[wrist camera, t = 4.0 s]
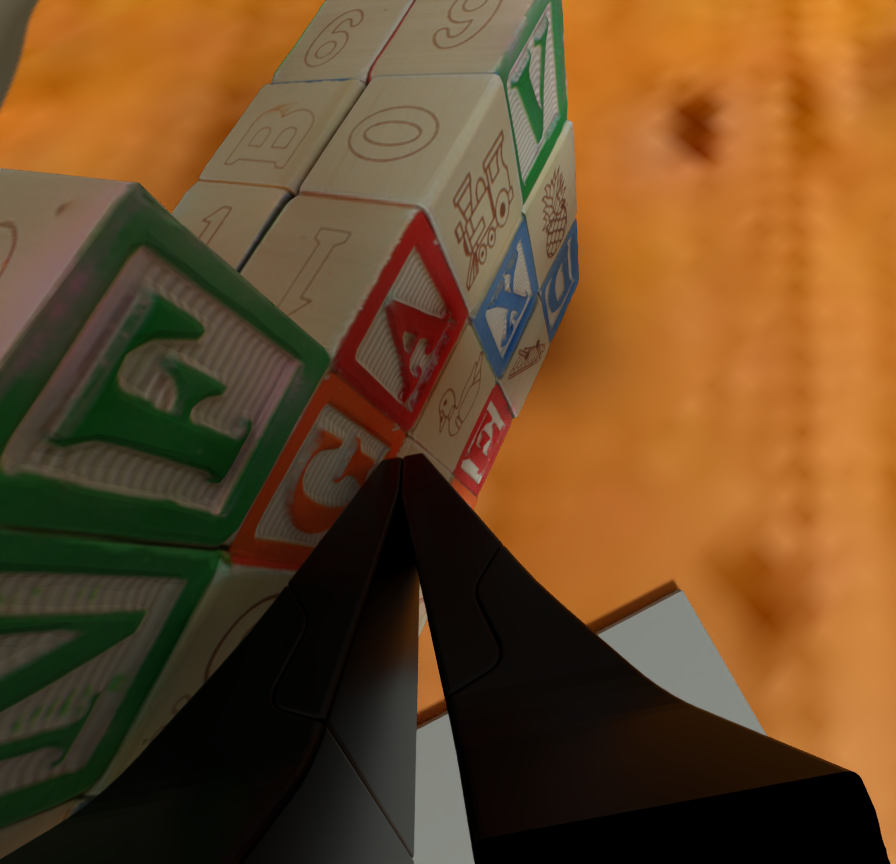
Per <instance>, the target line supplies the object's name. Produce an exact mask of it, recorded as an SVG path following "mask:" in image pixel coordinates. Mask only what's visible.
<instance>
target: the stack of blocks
mask: <svg viewBox="0 0 896 864" xmlns="http://www.w3.org/2000/svg"><path fill="white" fill-rule="evenodd" d="M576 213H577V201H576V172H575V155H574V133H573V124H572V122H571V121H570V120H567V83H566V71H565V59H564V30H563V11H562V0H326V1H325V2H324V4H323V5H322V6H321V8H320V9H319V11H318V13H317V14H316V16H315V17H314V19H313V20H312V21H311V23H310V24H309V26H308V27H307V28H306V30H305V31H304V33H303V34H302V36H301V37H300V39H299V40H298V41H297V43H296V44H295V46H294V47H293V49H292V50H291V51H290V53H289V54H288V55H287V57H286V58H285V59H284V61H283V62H282V63H281V65H280V66H279V68H278V69H277V70H276V72H275V73H274V77H273V81H272V83H271V84H266V85H265V86H264V87H262V88H261V89H260V91H259V93H258V94H257V95H256V97H255V98H254V99H253V100H252V102H251V103H250V105H249V106H248V108H247V109H246V111H245V112H244V113H243V115H242V116H241V118H240V119H239V121H238V122H237V123H236V125H235V126H234V128H233V129H232V130H231V132H230V133H229V135H228V136H227V137H226V139H225V140H224V141H223V143H222V144H221V146H220V147H219V148H218V150H217V151H216V152H215V154H214V155H213V157H212V158H211V159H210V161H209V162H208V164H207V165H206V167H205V168H204V170H203V172H202V174H201V175H200V178H199V181H198V182H197V183H195V184H194V185H193V186H192V187H191V188H190V189H189V190H188V191H187V192H186V193H185V194H184V196H183V197H182V199H181V200H180V202H179V203H178V205H177V206H176V208H175V209H174V211H173V212H172V214H171V213H170V212H169V211H168V210H166V209H165V208H164V207H163V206H162V205H161V204H160V203H159V202H158V201H157V200H156V199H155V198H154V197H153V196H152V195H151V194H150V193H149V192H148V191H147V190H146V189H145V188H144V187H143V186H142V185H141V184H140V183H135V182H126V181H116V180H107V179H98V178H89V177H79V176H70V175H61V174H52V173H42V172H32V171H23V170H13V169H3V168H0V859H1V858H3V857H4V856H6V855H8V854H9V853H11V852H13V851H14V850H16V849H18V848H19V847H21V846H23V845H24V844H26V843H28V842H29V841H31V840H33V839H34V838H36V837H38V836H39V835H41V834H43V833H44V832H46V831H48V830H49V829H51V828H53V827H54V826H56V825H57V824H59V823H60V822H62V821H64V820H65V819H67V818H68V817H69V816H71V815H72V814H74V813H75V812H76V811H78V810H79V809H81V808H82V807H83V806H85V805H86V804H87V803H89V802H90V801H91V800H92V799H93V798H95V797H96V796H97V795H98V794H99V793H101V792H102V791H103V790H104V789H105V788H106V787H108V786H109V785H110V784H111V783H112V782H113V781H114V780H115V779H116V778H117V777H118V776H119V775H120V774H122V773H123V772H124V770H125V769H126V768H127V767H128V766H129V765H130V764H131V763H132V762H133V761H134V760H135V759H136V758H137V757H138V756H139V755H140V754H141V753H142V751H143V750H144V749H145V748H146V747H147V746H148V745H149V744H150V743H151V741H152V740H153V739H154V738H155V737H156V736H157V735H158V734H159V733H160V732H161V730H162V729H163V728H164V727H165V726H166V725H167V724H168V723H169V722H170V720H171V719H172V718H173V717H174V716H175V715H176V714H177V713H178V712H179V711H180V709H181V708H182V707H183V706H184V705H185V704H186V703H187V702H188V701H189V699H190V698H191V697H192V696H193V695H194V694H195V693H196V692H197V691H198V689H199V688H200V687H201V686H202V685H203V684H204V683H205V682H206V681H207V680H208V678H209V677H210V676H211V675H212V674H213V673H214V672H215V671H216V670H217V668H218V667H219V666H220V665H221V664H222V663H223V662H224V660H225V659H226V658H227V657H228V656H229V655H230V654H231V652H232V651H233V650H234V649H235V648H236V647H237V646H238V644H239V643H240V642H241V641H242V640H243V639H244V638H245V636H246V635H247V634H248V633H249V632H250V630H251V629H252V628H253V627H254V625H255V624H256V623H257V622H258V620H259V619H260V618H261V617H262V615H263V614H264V613H265V612H266V610H267V609H268V608H269V607H270V605H271V604H272V603H273V602H274V600H275V599H276V598H277V596H278V595H279V594H280V592H281V591H282V590H283V588H284V587H285V586H289V585H288V582H289V581H290V580H291V578H292V577H293V576H294V574H295V573H296V572H297V570H298V569H299V568H300V567H301V565H302V564H303V563H304V561H305V560H306V559H307V557H308V556H309V555H310V553H311V552H312V551H313V549H314V548H315V547H316V546H317V544H318V543H319V542H320V540H321V539H322V538H323V536H324V535H325V534H326V532H327V531H328V530H329V529H330V527H331V526H332V525H333V523H334V522H335V521H336V519H337V518H338V517H339V515H340V514H341V513H342V511H343V510H344V509H345V508H346V506H347V505H348V504H349V502H350V501H351V500H352V498H353V497H354V496H355V494H356V493H357V492H358V491H359V489H360V488H361V487H362V485H363V484H364V483H365V481H366V480H367V479H368V477H369V476H370V475H371V473H372V472H373V471H374V470H375V468H376V467H377V466H378V464H379V463H380V462H381V461H382V460H385V459H390V458H396V457H401V458H402V459H403V457H404V456H407V455H412V454H417V453H423V454H425V455H426V457H427V458H428V459H429V460H430V461H431V462H432V463H433V465H434V466H435V467H436V468H437V469H438V470H439V471H440V473H441V474H442V475H443V476H444V477H445V478H446V479H447V481H448V482H449V483H450V484H451V485H452V486H453V488H454V489H455V490H456V491H457V492H458V493H459V494H460V496H461V497H462V498H463V499H464V500H465V501H466V502H467V504H468V505H469V506H470V507H471V508H472V509H474V507H475V505H476V503H477V498H478V493H479V492H480V490H481V488H482V486H483V484H484V481H485V479H486V477H487V475H488V473H489V471H490V469H491V467H492V465H493V463H494V460H495V458H496V456H497V454H498V451H499V449H500V446H501V445H502V443H503V441H504V438H505V436H506V434H507V432H508V430H509V427H510V425H511V421H512V419H513V418H516V417H517V416H518V415H519V413H520V411H521V408H522V406H523V404H524V402H525V400H526V397H527V395H528V393H529V391H530V389H531V387H532V385H533V382H534V380H535V378H536V376H537V374H538V372H539V370H540V367H541V365H542V363H543V361H544V359H545V357H546V354H547V351H548V349H549V345H550V342H551V341H552V339H553V337H554V335H555V333H556V331H557V329H558V326H559V324H560V322H561V320H562V318H563V315H564V313H565V311H566V308H567V306H568V304H569V302H570V300H571V297H572V295H573V293H574V291H575V289H576V287H577V284H578V280H579V266H578V243H577V221H576V218H575V215H576ZM426 620H427V614H426V609H425V604H424V600H423V595H422V590H421V586H420V588H419V636H420V633H421V631H422V629H423V627H424V625H425V623H426ZM418 638H419V637H418Z"/></svg>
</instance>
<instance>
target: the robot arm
mask: <svg viewBox="0 0 896 864" xmlns="http://www.w3.org/2000/svg"><path fill="white" fill-rule="evenodd" d="M288 585H289V586H285V587H284V588H283V590H282V591H281V592H280V594H279V595H278V596H277V598H276V599H275V600H274V602H273V603H272V604H271V605H270V607H269V608H268V609H267V610H266V612H265V613H264V614H263V615H262V617H261V618H260V619H259V620H258V622H257V623H256V624H255V625H254V627H253V628H252V629H251V630H250V632H249V633H248V634H247V635H246V636H245V638H244V639H243V640H242V641H241V642H240V643H239V644H238V646H237V647H236V648H235V649H234V650H233V651H232V652H231V654H230V655H229V656H228V657H227V658H226V659H225V660H224V662H223V663H222V664H221V665H220V666H219V667H218V668H217V670H216V671H215V672H214V673H213V674H212V675H211V676H210V677H209V678H208V680H207V681H206V682H205V683H204V684H203V685H202V686H201V687H200V688H199V689H198V691H197V692H196V693H195V694H194V695H193V696H192V697H191V698H190V699H189V701H188V702H187V703H186V704H185V705H184V706H183V707H182V708H181V709H180V711H179V712H178V713H177V714H176V715H175V716H174V717H173V718H172V719H171V720H170V722H169V723H168V724H167V725H166V726H165V727H164V728H163V729H162V730H161V732H160V733H159V734H158V735H157V736H156V737H155V738H154V739H153V740H152V741H151V743H150V744H149V745H148V746H147V747H146V748H145V749H144V750H143V751H142V753H141V754H140V755H139V756H138V757H137V758H136V759H135V760H134V761H133V762H132V763H131V764H130V765H129V766H128V767H127V768H126V769H125V770H124V772H123V773H122V774H120V775H119V776H118V777H117V778H116V779H115V780H114V781H113V782H112V783H111V784H110V785H109V786H108V787H106V788H105V789H104V790H103V791H102V792H101V793H99V794H98V795H97V796H96V797H95V798H93V799H92V800H91V801H90V802H89V803H87V804H86V805H85V806H83V807H82V808H81V809H79V810H78V811H76V812H75V813H74V814H72V815H71V816H69V817H68V818H67V819H65V820H64V821H62V822H60V823H59V824H57V825H56V826H54V827H53V828H51V829H49V830H48V831H46V832H44V833H43V834H41V835H39V836H38V837H36V838H34V839H33V840H31V841H29V842H28V843H26V844H24V845H23V846H21V847H19V848H18V849H16V850H14V851H13V852H11V853H9V854H8V855H6V856H4V857H3V858H1V859H0V864H414V861H413V859H412V858H413V857H414V830H415V782H416V733H417V685H418V637H419V588H420V586H421V590H422V595H423V600H424V604H425V609H426V614H427V618H428V623H429V627H430V632H431V637H432V641H433V646H434V651H435V655H436V660H437V665H438V669H439V674H440V678H441V683H442V688H443V692H444V697H445V701H446V706H447V711H448V716H449V720H450V725H451V730H452V735H453V740H454V745H455V750H456V756H457V762H458V767H459V773H460V780H461V786H462V792H463V798H464V804H465V810H466V816H467V822H468V828H469V835H470V841H471V847H472V853H473V859H474V863H475V864H890V862H889V859H888V856H887V852H886V848H885V846H884V843H883V840H882V836H881V831H880V826H879V822H878V818H877V815H876V811H875V808H874V806H873V804H872V801H871V799H870V797H869V795H868V792H867V790H866V788H865V785H864V783H863V781H862V779H861V778H860V776H859V775H858V774H856V773H855V772H852V771H850V770H848V769H845V768H843V767H840V766H838V765H836V764H833V763H831V762H828V761H826V760H824V759H821V758H819V757H816V756H814V755H811V754H809V753H807V752H804V751H802V750H799V749H797V748H795V747H792V746H790V745H787V744H785V743H783V742H780V741H778V740H775V739H773V738H771V737H768V736H766V735H763V734H761V733H759V732H756V731H754V730H751V729H749V728H747V727H744V726H742V725H739V724H737V723H735V722H732V721H730V720H727V719H725V718H722V717H720V716H718V715H715V714H713V713H710V712H708V711H706V710H703V709H701V708H698V707H696V706H694V705H692V704H690V703H687V702H686V701H684V700H682V699H680V698H678V697H676V696H675V695H673V694H671V693H669V692H668V691H666V690H665V689H663V688H662V687H660V686H659V685H657V684H656V683H654V682H653V681H652V680H650V679H649V678H647V677H646V676H645V675H644V674H642V673H641V672H640V671H639V670H638V669H636V668H635V667H634V666H633V665H632V664H630V663H629V662H628V661H627V660H626V659H625V658H623V657H622V656H621V655H620V654H619V653H618V652H617V651H615V650H614V649H613V648H612V647H611V646H610V645H608V644H607V643H606V642H605V641H604V640H603V639H602V638H600V637H599V636H598V635H597V634H596V633H595V632H594V631H592V630H591V629H590V628H589V627H588V626H587V625H585V624H584V623H583V622H582V621H581V620H580V619H579V618H577V617H576V616H575V615H574V614H573V613H572V612H571V611H569V610H568V609H567V608H566V607H565V606H564V605H562V604H561V603H560V602H559V601H558V600H557V599H556V598H555V597H554V596H553V595H552V594H550V593H549V592H548V591H547V590H546V589H545V588H544V587H543V586H542V585H541V584H540V583H539V582H537V581H536V580H535V578H534V577H533V576H532V575H531V574H530V573H529V572H528V571H527V570H526V569H525V568H524V567H523V566H522V565H521V564H520V563H519V562H518V560H517V559H516V558H515V557H514V556H513V555H512V554H511V552H510V551H509V550H508V549H507V548H506V547H505V546H503V544H502V542H501V541H500V540H499V539H498V538H497V537H496V536H495V534H494V533H493V532H492V531H491V530H490V529H489V528H488V526H487V525H486V524H485V523H484V522H483V521H482V520H481V518H480V517H479V516H478V515H477V514H476V513H475V512H474V510H473V509H472V508H471V507H470V506H469V505H468V504H467V502H466V501H465V500H464V499H463V498H462V497H461V496H460V494H459V493H458V492H457V491H456V490H455V489H454V488H453V486H452V485H451V484H450V483H449V482H448V481H447V479H446V478H445V477H444V476H443V475H442V474H441V473H440V471H439V470H438V469H437V468H436V467H435V466H434V465H433V463H432V462H431V461H430V460H429V459H428V458H427V457H426V455H425V454H423V453H417V454H412V455H407V456H404V457H403V459H402V458H401V457H396V458H390V459H385V460H382V461H381V462H380V463H379V464H378V466H377V467H376V468H375V470H374V471H373V472H372V473H371V475H370V476H369V477H368V479H367V480H366V481H365V483H364V484H363V485H362V487H361V488H360V489H359V491H358V492H357V493H356V494H355V496H354V497H353V498H352V500H351V501H350V502H349V504H348V505H347V506H346V508H345V509H344V510H343V511H342V513H341V514H340V515H339V517H338V518H337V519H336V521H335V522H334V523H333V525H332V526H331V527H330V529H329V530H328V531H327V532H326V534H325V535H324V536H323V538H322V539H321V540H320V542H319V543H318V544H317V546H316V547H315V548H314V549H313V551H312V552H311V553H310V555H309V556H308V557H307V559H306V560H305V561H304V563H303V564H302V565H301V567H300V568H299V569H298V570H297V572H296V573H295V574H294V576H293V577H292V578H291V580H290V581H289V582H288Z"/></svg>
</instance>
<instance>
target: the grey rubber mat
mask: <svg viewBox="0 0 896 864" xmlns="http://www.w3.org/2000/svg"><path fill="white" fill-rule="evenodd" d="M596 634H597V635H598V636H599V637H600V638H602V639H603V640H604V641H605V642H606V643H607V644H608V645H610V646H611V647H612V648H613V649H614V650H615V651H617V652H618V653H619V654H620V655H621V656H622V657H623V658H625V659H626V660H627V661H628V662H629V663H630V664H632V665H633V666H634V667H635V668H636V669H638V670H639V671H640V672H641V673H642V674H644V675H645V676H646V677H647V678H649V679H650V680H652V681H653V682H654V683H656V684H657V685H659V686H660V687H662V688H663V689H665V690H666V691H668V692H669V693H671V694H673V695H675V696H676V697H678V698H680V699H682V700H684V701H686V702H687V703H690V704H692V705H694V706H696V707H698V708H701V709H703V710H706V711H708V712H710V713H713V714H715V715H718V716H720V717H722V718H725V719H727V720H730V721H732V722H735V723H737V724H739V725H742V726H744V727H747V728H749V729H751V730H754V731H756V732H759V733H761V734H763V735H766V734H765V732H764V730H763V729H762V727H761V725H760V723H759V722H758V720H757V718H756V716H755V715H754V713H753V711H752V710H751V708H750V706H749V704H748V703H747V701H746V699H745V697H744V696H743V694H742V692H741V691H740V689H739V687H738V685H737V684H736V682H735V680H734V678H733V677H732V675H731V673H730V672H729V670H728V668H727V666H726V665H725V663H724V661H723V659H722V658H721V656H720V654H719V652H718V651H717V649H716V647H715V646H714V644H713V642H712V640H711V639H710V637H709V635H708V633H707V632H706V630H705V628H704V627H703V625H702V623H701V621H700V620H699V618H698V616H697V614H696V613H695V611H694V609H693V608H692V606H691V604H690V602H689V601H688V599H687V597H686V595H685V594H684V592H683V590H679V589H678V590H676V591H674V592H672V593H670V594H668V595H666V596H664V597H662V598H661V599H659V600H657V601H655V602H653V603H651V604H649V605H647V606H645V607H643V608H642V609H640V610H638V611H636V612H634V613H632V614H630V615H628V616H626V617H624V618H623V619H621V620H619V621H617V622H615V623H613V624H611V625H609V626H607V627H605V628H603V629H602V630H600V631H598V632H596ZM766 736H767V735H766ZM412 859H413V861H414V864H475V863H474V859H473V853H472V847H471V841H470V835H469V828H468V822H467V816H466V810H465V804H464V798H463V792H462V786H461V780H460V773H459V767H458V762H457V756H456V750H455V745H454V740H453V735H452V730H451V725H450V720H449V716H448V711H445V712H444V713H442V714H440V715H438V716H436V717H434V718H432V719H430V720H428V721H426V722H424V723H423V724H421V725H419V726H417V733H416V782H415V830H414V857H413V858H412Z"/></svg>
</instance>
